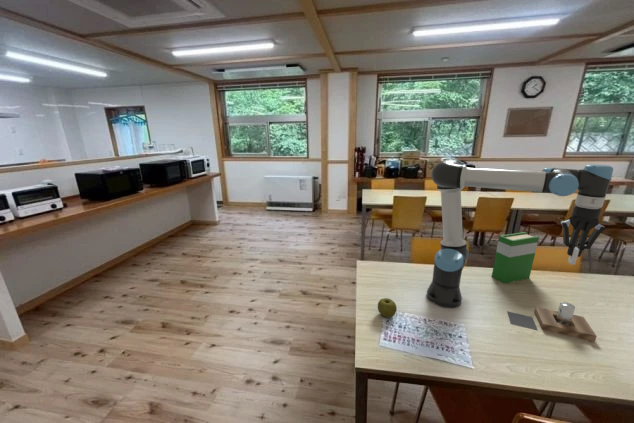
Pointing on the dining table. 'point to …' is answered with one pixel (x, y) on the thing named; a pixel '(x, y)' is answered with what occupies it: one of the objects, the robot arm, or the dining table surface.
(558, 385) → the dining table surface
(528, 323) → the pad
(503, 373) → the dining table surface
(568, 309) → the brushed steel cylinder
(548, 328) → the jig
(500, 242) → the hardback book
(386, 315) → the apple
